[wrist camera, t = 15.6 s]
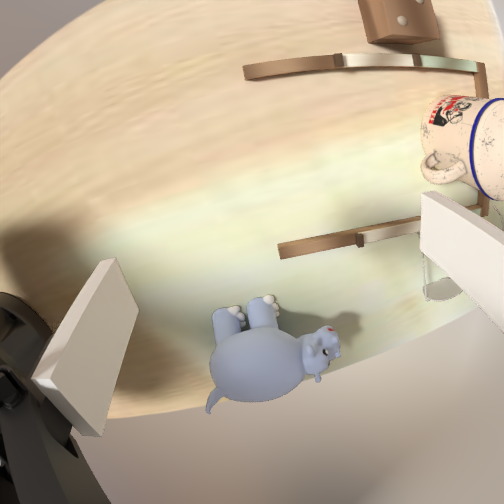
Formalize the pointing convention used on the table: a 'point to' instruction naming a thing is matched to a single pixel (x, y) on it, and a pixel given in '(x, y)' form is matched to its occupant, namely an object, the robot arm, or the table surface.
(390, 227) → the track
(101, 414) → the robot arm
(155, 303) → the table surface
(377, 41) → the die
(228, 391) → the hippopotamus toy
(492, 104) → the teacup with lid
